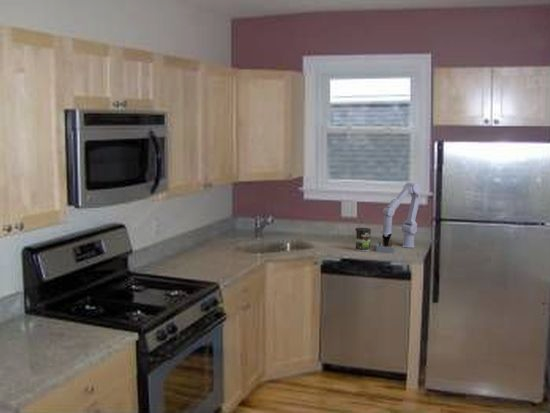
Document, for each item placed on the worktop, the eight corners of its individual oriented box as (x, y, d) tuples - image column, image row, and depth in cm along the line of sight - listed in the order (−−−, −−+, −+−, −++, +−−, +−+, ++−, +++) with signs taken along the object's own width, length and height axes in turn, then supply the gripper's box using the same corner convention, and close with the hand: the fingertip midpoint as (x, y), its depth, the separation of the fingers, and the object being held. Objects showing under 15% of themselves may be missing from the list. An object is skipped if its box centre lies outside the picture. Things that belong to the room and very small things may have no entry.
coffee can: (372, 250, 413) (373, 229, 411) (359, 251, 409) (360, 230, 407) (365, 247, 422) (365, 227, 420) (351, 248, 418) (352, 227, 416)
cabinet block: (382, 247, 423) (383, 239, 422) (392, 248, 421) (392, 239, 420) (382, 249, 419) (382, 240, 418) (391, 249, 417) (392, 241, 416)
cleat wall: (378, 246, 428) (378, 240, 427) (395, 247, 424) (395, 241, 424) (375, 251, 410) (375, 245, 410) (393, 252, 407) (393, 247, 407)
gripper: (382, 223, 426) (381, 242, 428) (380, 226, 412) (379, 246, 414) (393, 224, 424) (392, 243, 426) (391, 227, 410) (390, 247, 412)
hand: (386, 245), depth 420 cm, fingers closed on cabinet block, 4 cm apart
